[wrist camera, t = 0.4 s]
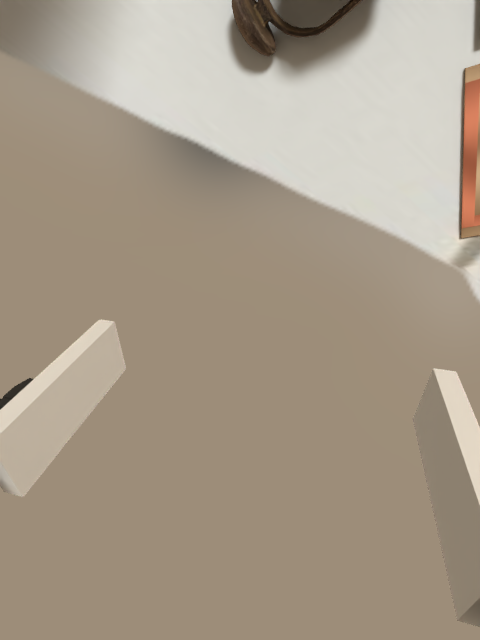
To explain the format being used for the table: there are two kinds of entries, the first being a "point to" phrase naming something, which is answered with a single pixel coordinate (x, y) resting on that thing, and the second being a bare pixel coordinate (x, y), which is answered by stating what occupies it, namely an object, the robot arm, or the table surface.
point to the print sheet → (471, 154)
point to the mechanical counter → (274, 23)
